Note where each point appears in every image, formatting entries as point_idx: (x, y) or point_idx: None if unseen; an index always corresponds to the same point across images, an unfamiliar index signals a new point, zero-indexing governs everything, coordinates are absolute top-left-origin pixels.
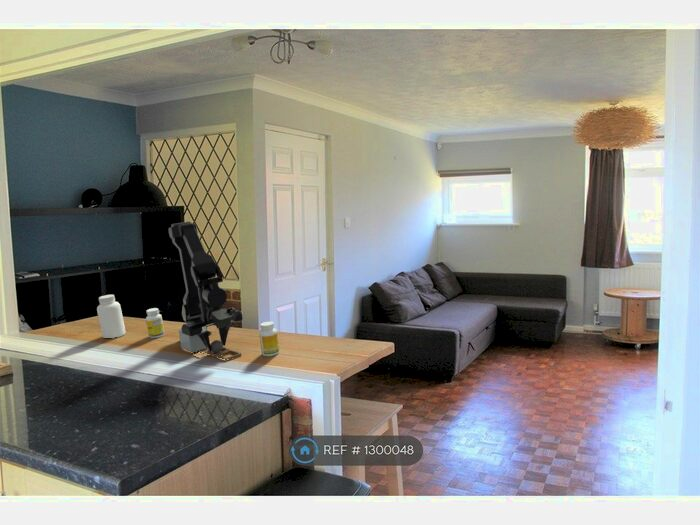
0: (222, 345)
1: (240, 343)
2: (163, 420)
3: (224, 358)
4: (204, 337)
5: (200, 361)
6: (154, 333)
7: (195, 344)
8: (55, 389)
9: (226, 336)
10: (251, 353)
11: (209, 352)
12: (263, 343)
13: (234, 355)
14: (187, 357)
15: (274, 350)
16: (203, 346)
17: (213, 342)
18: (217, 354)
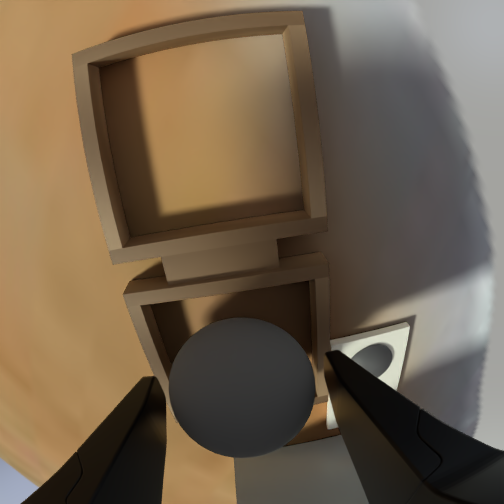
0: (182, 360)
1: (28, 372)
2: None
3: (301, 35)
4: (491, 452)
5: (439, 254)
6: None
7: (350, 479)
8: None
9: (92, 443)
10: (4, 59)
11: (319, 357)
12: None
13: (161, 30)
14: (421, 390)
15: None
16: (285, 464)
17: (286, 426)
18: (283, 265)
